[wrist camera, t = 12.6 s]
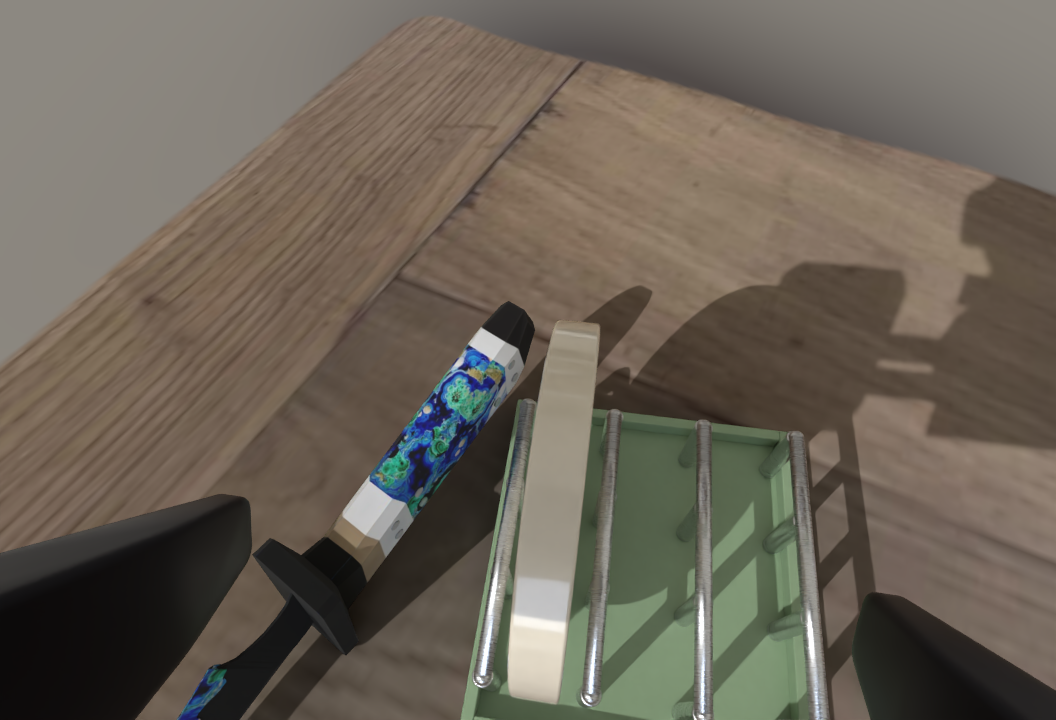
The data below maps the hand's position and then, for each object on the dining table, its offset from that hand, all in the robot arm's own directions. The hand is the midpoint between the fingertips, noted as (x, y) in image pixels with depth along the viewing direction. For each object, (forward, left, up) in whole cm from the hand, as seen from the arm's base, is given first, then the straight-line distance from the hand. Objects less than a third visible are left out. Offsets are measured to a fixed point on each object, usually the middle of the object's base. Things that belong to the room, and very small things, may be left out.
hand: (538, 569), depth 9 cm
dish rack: (-2, -4, -13) cm, 14 cm away
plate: (+1, -3, -13) cm, 13 cm away
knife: (+8, +6, -13) cm, 17 cm away
